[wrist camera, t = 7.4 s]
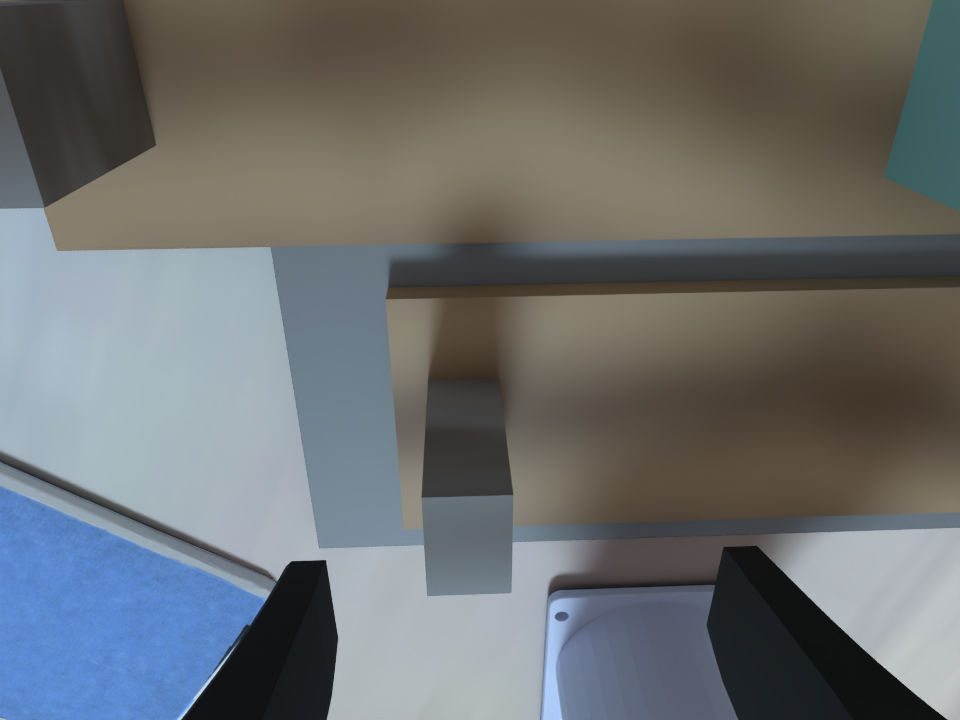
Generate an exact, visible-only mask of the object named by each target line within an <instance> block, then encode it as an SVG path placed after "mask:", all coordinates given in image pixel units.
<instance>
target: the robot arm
mask: <svg viewBox="0 0 960 720" xmlns="http://www.w3.org/2000/svg"><path fill="white" fill-rule="evenodd" d="M558 612H562V613H558ZM337 644H338V635H337V628H336V622H335V616H334V609H333V603H332V597H331V590H330V584H329V577H328V571H327V565H326V560H319V561H292V562H290V563H289V564H288V565H287V566H286V568H285V569H284V571H283V573H282V574H281V576H280V578H279V580H278V581H277V583H276V585H275V586H274V588H273V590H272V591H271V593H270V595H269V596H268V598H267V600H266V601H265V603H264V604H263V606H262V608H261V609H260V611H259V612H258V614H257V615H256V617H255V618H254V620H253V621H252V623H251V625H250V626H249V628H248V629H247V631H246V632H245V633H244V635H243V636H242V638H241V639H240V641H239V642H238V644H237V645H236V646H235V648H234V649H233V651H232V652H231V654H230V655H229V657H228V658H227V659H226V661H225V662H224V664H223V665H222V667H221V668H220V669H219V671H218V672H217V673H216V675H215V676H214V677H213V679H212V680H211V681H210V683H209V684H208V685H207V687H206V688H205V689H204V690H203V692H202V693H201V694H200V696H199V697H198V698H197V700H196V701H195V702H194V704H193V705H192V706H191V708H190V709H189V710H188V711H187V713H186V714H185V715H184V716H183V718H182V719H181V720H327V716H328V711H329V706H330V702H331V697H332V689H333V680H334V672H335V663H336V653H337ZM541 720H947V719H946V718H944V717H943V716H942V715H940V714H939V713H938V712H937V711H935V710H934V709H933V708H931V707H930V706H929V705H928V704H927V703H925V702H924V701H923V700H922V699H920V698H919V697H918V696H917V695H915V694H914V693H913V692H912V691H911V690H909V689H908V688H907V687H906V686H905V685H904V684H902V683H901V682H900V681H899V680H898V679H897V678H895V677H894V676H893V675H892V674H891V673H890V672H888V671H887V670H886V669H885V668H884V667H883V666H881V665H880V664H879V663H878V662H877V661H876V660H875V659H873V658H872V657H871V656H870V655H869V654H868V653H867V652H866V651H865V650H863V649H862V648H861V647H860V646H859V645H858V644H857V643H856V642H855V641H854V640H853V639H852V638H850V637H849V636H848V635H847V634H846V633H845V632H844V631H843V630H842V629H841V628H840V627H839V626H838V625H837V624H836V623H834V622H833V621H832V620H831V619H830V618H829V617H828V616H827V615H826V614H825V613H824V612H823V611H822V610H821V609H820V608H819V607H818V606H817V605H816V604H815V603H814V602H813V601H812V600H811V599H810V598H809V597H808V596H807V595H806V594H805V593H804V592H803V591H802V590H801V589H800V588H799V587H798V586H797V585H796V584H795V583H794V582H793V581H792V580H791V579H790V578H789V577H788V576H787V575H786V574H785V573H784V572H783V571H782V570H781V569H780V568H779V567H777V566H776V565H775V564H774V563H773V562H772V561H771V560H770V559H769V558H768V557H767V556H766V555H765V554H764V553H763V552H762V551H761V550H760V549H759V548H758V547H757V546H742V547H724V548H723V552H722V557H721V561H720V566H719V570H718V575H717V579H716V584H715V585H695V586H666V587H637V588H608V589H579V590H559V591H556V592H554V593H552V594H551V595H550V596H549V598H548V605H547V622H546V639H545V656H544V673H543V689H542V706H541Z"/></svg>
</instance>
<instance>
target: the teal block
mask: <svg viewBox="0 0 960 720" xmlns="http://www.w3.org/2000/svg"><path fill="white" fill-rule="evenodd" d="M884 178H887V179H889V180H891V181H893V182H896V183H898V184H900V185H902V186H904V187H907V188H909V189H911V190H913V191H916V192H918V193H920V194H922V195H925V196H927V197H929V198H931V199H933V200H936V201H938V202H940V203H942V204H945V205H947V206H949V207H951V208H953V209H956V210H958V211H960V0H933V2H932V6H931V9H930V13H929V16H928V20H927V24H926V27H925V31H924V34H923V38H922V42H921V45H920V49H919V52H918V56H917V60H916V63H915V67H914V70H913V74H912V78H911V81H910V85H909V88H908V92H907V96H906V99H905V103H904V106H903V110H902V114H901V117H900V121H899V124H898V128H897V132H896V135H895V139H894V142H893V146H892V150H891V153H890V157H889V160H888V164H887V168H886V171H885V175H884Z"/></svg>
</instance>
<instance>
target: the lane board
mask: <svg viewBox="0 0 960 720" xmlns="http://www.w3.org/2000/svg"><path fill="white" fill-rule="evenodd" d="M271 252H272V258H273V264H274V270H275V277H276V283H277V289H278V295H279V302H280V308H281V314H282V320H283V326H284V333H285V339H286V345H287V351H288V358H289V364H290V370H291V376H292V382H293V389H294V395H295V401H296V407H297V414H298V420H299V426H300V432H301V438H302V445H303V451H304V457H305V463H306V470H307V476H308V482H309V488H310V494H311V501H312V507H313V513H314V519H315V526H316V532H317V538H318V544H319V548H346V547H377V546H408V545H424V532H423V529H409V530H404V526H403V513H402V501H401V488H400V475H399V463H398V450H397V437H396V425H395V412H394V399H393V387H392V374H391V361H390V349H389V336H388V323H387V311H386V295H387V290H388V288H389V287H437V286H486V285H534V284H583V283H632V282H680V281H729V280H777V279H826V278H875V277H923V276H960V234H931V235H878V236H824V237H770V238H716V239H663V240H609V241H555V242H501V243H448V244H394V245H340V246H287V247H271ZM933 528H960V512H946V513H915V514H883V515H852V516H820V517H788V518H757V519H725V520H693V521H662V522H630V523H599V524H567V525H535V526H513V538H512V542H531V541H562V540H593V539H624V538H655V537H686V536H717V535H748V534H779V533H809V532H840V531H871V530H902V529H933Z"/></svg>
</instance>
